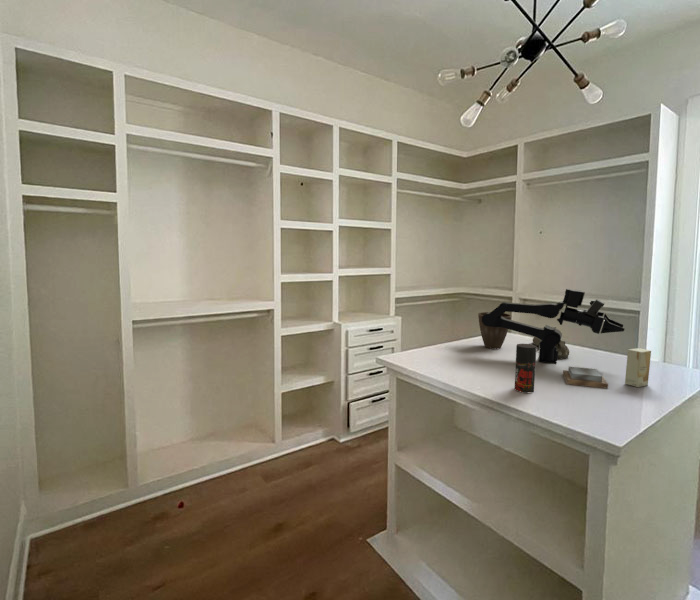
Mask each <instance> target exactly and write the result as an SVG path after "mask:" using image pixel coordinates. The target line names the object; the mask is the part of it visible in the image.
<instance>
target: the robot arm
mask: <svg viewBox="0 0 700 600" xmlns="http://www.w3.org/2000/svg"><path fill="white" fill-rule="evenodd" d="M585 294H586V292H585V291H583V290H579V289H570V288H566V289H565V291H564V296H563V297H564V298H563V299H562V301H559V302H557V303H555V302H547V303H546V302H545V303H540V304H539V303H537V304H530V303H517V302H508V301H504V302H501V303H500V304H499V305H498V306H497V307H495V309H493V310H492V311H488V312H489V313H487V314H485V315H483V317H482V323H483V324H484V325H485V326H488V327H502V328H506V329H508V330H510V331H515V332H518V333H521V334H524V335H527V336H531V337H533V338H534V337H537V338H539V339H540V340H541V341H540V343H539V344H540V345H539V347H538V357H537V359H538V362H540V363H550V364H557V362H558V359H559V358H558V351H557V348H556V346H555V345H556V344H558V343H559V342H560V341H561V340H562V339H563V333H562V332H561V330H559V329H558V328H557V327H553V326H550V325H548V324H545V326H544V327H538V326H534V325H530V324H527V323H522V322H519V321H515V320H512V319H511V320H509V319H506V318H504V317H502V316H501V315H502V314H503V313H506V312H508V313H521V314H532V315H533V314H534V315H537V316H540V317H544V318H548V319H554V318H556V317H557V316H558V315H559V317H558V318H557V319H556V321H557V322H558V323H559V325H561V326H562V325H563V323H564V322H568V323H573V324H575V325H578V326H579V327H580V326H581V327H582V326H584V327H588V328H590V329H591V331H592V333H595V334H598V335H599V334H608V333H609V334H610V333H619V332H620V333H621V332H625V328H624V324H622V323H620V322H618V321H616V320H614V319H613V318H612V319H611V318H610V317H608V315H607V313H605V312H604V311H600V310H601V308H603V307H604V305H605V302H603V301H601V300H600V299H599V298H596V299H595V300H594V299H593V300H590V302H589V305H590V306H589V307H588V309H582V310H581V309H578V308H579V307H581V306H583V305H582V304H583V300H584V298H585ZM564 307H565V308H564ZM563 308H564V310H563ZM561 310H562V311H561Z"/></svg>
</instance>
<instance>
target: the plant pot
mask: <svg viewBox="0 0 700 600" xmlns="http://www.w3.org/2000/svg"><path fill="white" fill-rule="evenodd" d="M489 312H490V311H484V312H479V313H478V314H477V315H478V316H477V317H478V325H479V330H480V335H481V339H482V342H483V346H484V348H487V349H492V348H496V349H495V350H498V349H497V348H499V349H501V348H502V346H503V344H504V342H505V340H506V337H507V335H508V331H509V329H506V328H502V327H488V326H485V325H484V324H483V323H482V317H483V315H485V314H487V313H489ZM501 316H502V317H504V318H506V319H509V320H512V315H511V314H510V313H506V312H505V313H503V314H502V315H501Z"/></svg>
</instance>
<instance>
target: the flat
mask: <svg viewBox="0 0 700 600" xmlns="http://www.w3.org/2000/svg"><path fill="white" fill-rule="evenodd" d="M540 341H541V340H540V339H539V338H537V337H534V336H533V337H532V343H533V345H535V346H536V347H537V346H538V348H539V345H540V344H539V343H540ZM555 346H556V348H557V351H558V359H559V358H562V359H561V360H565V358H567V359H569V355H570V348H568V346H567V345H566V341H565V340H562V339H561V341H560V342H559V343H558V344H556V345H555Z"/></svg>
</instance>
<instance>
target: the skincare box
mask: <svg viewBox="0 0 700 600" xmlns="http://www.w3.org/2000/svg"><path fill="white" fill-rule="evenodd" d="M651 357H652V350H650V349H644V348H640V347H639V348H638V347H637V348H630V349H629V348H628V349H627V358H626V367H625V368H626V369H625V378H624V379H625V380H624V384H626V385H628V386H633V387H636V388H641V387H644V386H648V385H649V377H650V368H651V367H650V366H651Z"/></svg>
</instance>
